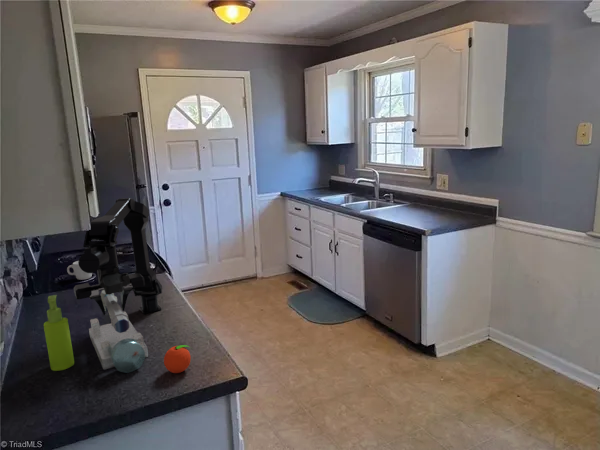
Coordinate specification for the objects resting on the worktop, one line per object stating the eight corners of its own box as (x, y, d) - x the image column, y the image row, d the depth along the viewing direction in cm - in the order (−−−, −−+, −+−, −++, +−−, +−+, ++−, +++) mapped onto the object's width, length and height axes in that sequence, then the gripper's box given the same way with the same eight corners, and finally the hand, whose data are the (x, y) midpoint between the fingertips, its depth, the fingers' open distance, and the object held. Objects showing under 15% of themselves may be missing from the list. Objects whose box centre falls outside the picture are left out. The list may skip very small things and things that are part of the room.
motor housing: (90, 337, 138) (86, 313, 137) (129, 327, 145) (126, 304, 143) (107, 379, 113) (103, 351, 111) (154, 364, 119) (150, 338, 118)
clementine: (188, 360, 121) (186, 337, 119) (200, 370, 115) (197, 345, 114) (161, 371, 116) (158, 346, 114) (171, 381, 111) (168, 355, 109)
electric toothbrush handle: (111, 322, 116) (95, 286, 136) (113, 343, 119) (98, 304, 138) (131, 317, 119) (113, 282, 139) (133, 337, 121) (115, 300, 141)
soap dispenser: (74, 356, 126) (64, 291, 122) (74, 367, 120) (63, 299, 116) (51, 362, 123) (40, 295, 119) (50, 373, 117) (38, 303, 113)
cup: (66, 282, 196) (63, 265, 195) (71, 277, 204) (69, 261, 202) (91, 280, 198) (89, 263, 197) (95, 275, 206) (93, 258, 205)
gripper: (74, 275, 114) (83, 330, 118) (146, 262, 124) (152, 313, 128) (70, 266, 124) (78, 317, 127) (137, 254, 134) (143, 302, 137)
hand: (113, 312), depth 129 cm, fingers closed on electric toothbrush handle, 5 cm apart
